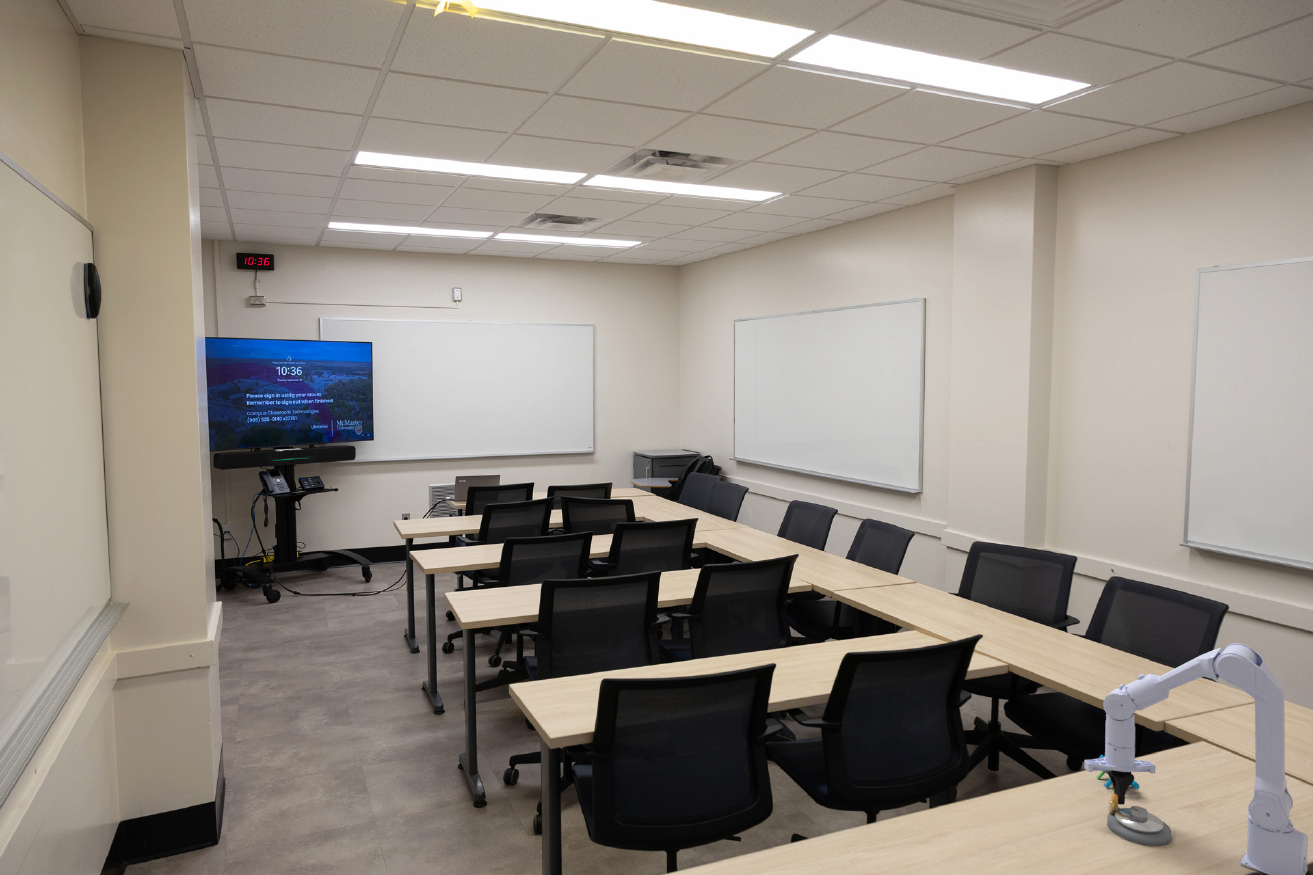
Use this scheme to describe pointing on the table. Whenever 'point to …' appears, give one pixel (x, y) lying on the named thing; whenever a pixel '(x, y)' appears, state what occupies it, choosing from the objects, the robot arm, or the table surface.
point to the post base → (1136, 836)
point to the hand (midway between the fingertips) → (1119, 802)
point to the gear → (1108, 783)
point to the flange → (1137, 818)
